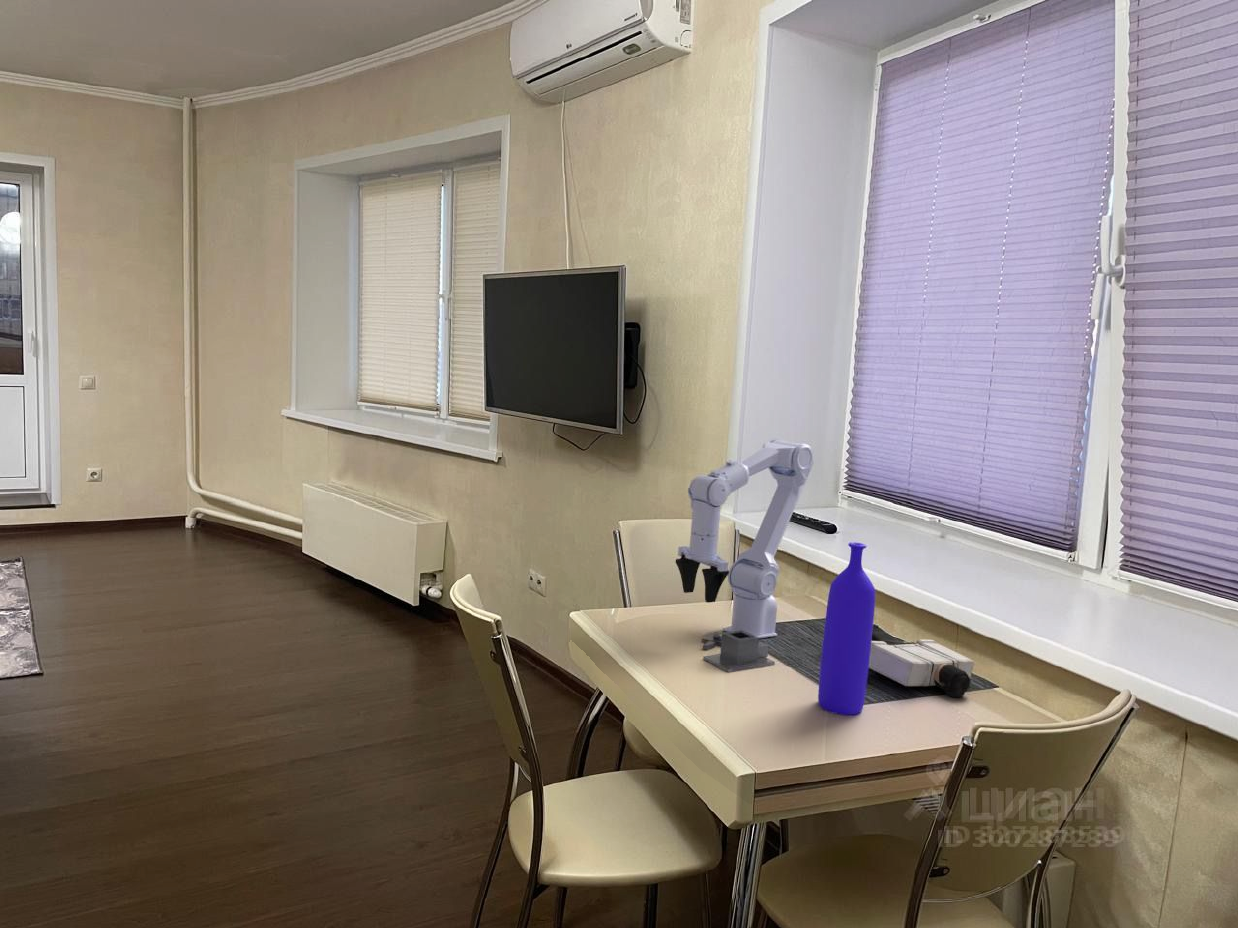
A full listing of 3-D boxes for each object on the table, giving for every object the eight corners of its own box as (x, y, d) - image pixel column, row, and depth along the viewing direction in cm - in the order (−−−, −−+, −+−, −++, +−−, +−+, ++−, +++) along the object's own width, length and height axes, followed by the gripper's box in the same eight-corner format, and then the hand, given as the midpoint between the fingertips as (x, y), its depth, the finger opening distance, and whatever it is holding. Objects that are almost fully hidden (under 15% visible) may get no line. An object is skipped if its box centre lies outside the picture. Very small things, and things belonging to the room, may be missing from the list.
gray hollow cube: (739, 653, 193) (741, 630, 193) (756, 661, 189) (758, 637, 188) (720, 656, 190) (722, 632, 190) (736, 665, 186) (739, 640, 186)
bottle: (865, 719, 165) (883, 551, 161) (816, 712, 166) (833, 545, 162) (862, 702, 173) (880, 541, 169) (816, 695, 174) (832, 536, 170)
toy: (816, 652, 199) (927, 707, 173) (821, 620, 198) (933, 670, 172) (880, 649, 208) (994, 699, 183) (886, 618, 208) (1001, 665, 182)
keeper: (750, 651, 197) (752, 635, 196) (776, 664, 190) (778, 647, 190) (703, 659, 190) (704, 641, 190) (728, 672, 184) (729, 654, 183)
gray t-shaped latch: (711, 636, 206) (711, 628, 205) (732, 641, 203) (733, 633, 203) (693, 647, 197) (694, 638, 197) (715, 652, 195) (716, 643, 195)
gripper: (668, 527, 200) (663, 589, 202) (710, 541, 188) (705, 608, 189) (695, 525, 204) (690, 586, 205) (738, 540, 192) (732, 604, 193)
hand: (699, 596), depth 198 cm, fingers open, 7 cm apart
